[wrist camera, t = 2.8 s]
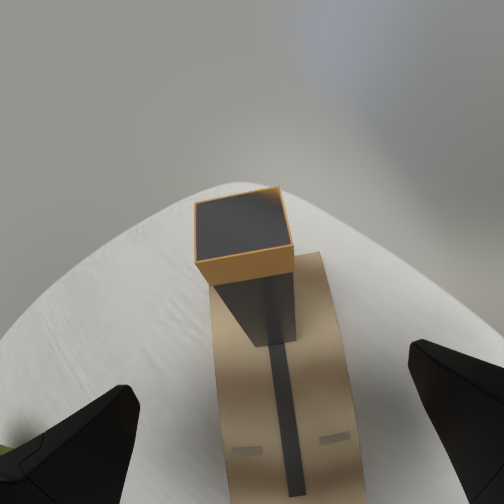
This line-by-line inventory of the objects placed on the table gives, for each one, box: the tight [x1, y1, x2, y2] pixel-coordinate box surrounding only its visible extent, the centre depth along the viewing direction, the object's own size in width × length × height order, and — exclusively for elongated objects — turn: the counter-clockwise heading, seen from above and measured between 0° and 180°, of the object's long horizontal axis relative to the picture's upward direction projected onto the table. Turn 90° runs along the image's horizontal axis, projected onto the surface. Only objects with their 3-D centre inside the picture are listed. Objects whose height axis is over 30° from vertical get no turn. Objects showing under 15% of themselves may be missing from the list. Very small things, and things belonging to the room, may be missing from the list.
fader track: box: [209, 252, 366, 504], centre depth 17 cm, size 18×8×2 cm, turn 7°
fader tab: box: [194, 186, 296, 347], centre depth 13 cm, size 2×3×11 cm
